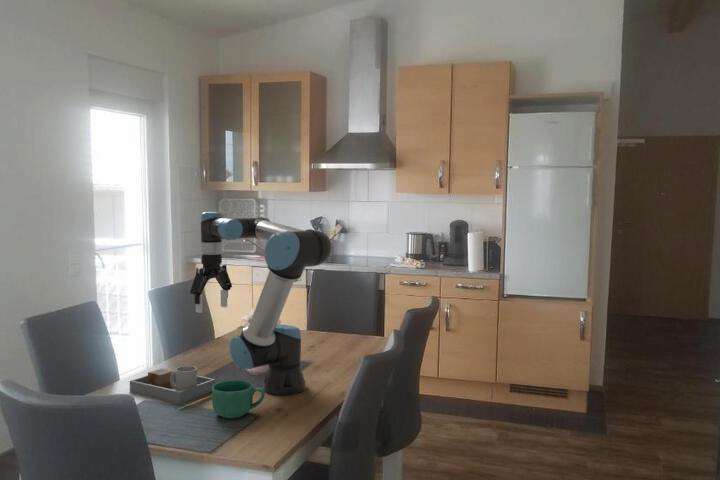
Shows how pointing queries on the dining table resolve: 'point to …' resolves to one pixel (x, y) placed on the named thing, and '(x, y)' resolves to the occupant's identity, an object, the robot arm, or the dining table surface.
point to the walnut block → (160, 378)
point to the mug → (234, 398)
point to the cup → (184, 377)
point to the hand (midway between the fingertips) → (211, 309)
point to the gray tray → (172, 389)
